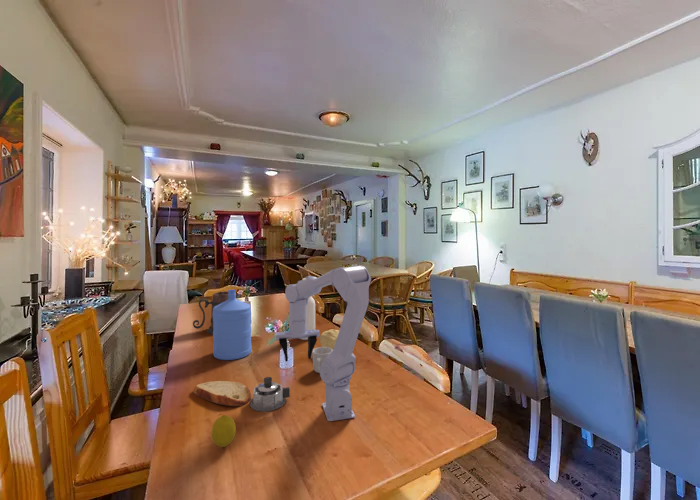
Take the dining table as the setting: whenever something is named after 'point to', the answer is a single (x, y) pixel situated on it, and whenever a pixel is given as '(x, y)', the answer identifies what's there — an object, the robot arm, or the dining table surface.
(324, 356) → the cup
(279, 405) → the round metal disc
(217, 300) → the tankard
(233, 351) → the water jug
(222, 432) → the lemon
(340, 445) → the dining table surface
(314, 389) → the dining table surface
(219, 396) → the slice of bread
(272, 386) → the silver rounded piece
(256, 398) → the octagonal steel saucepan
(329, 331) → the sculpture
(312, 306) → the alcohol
